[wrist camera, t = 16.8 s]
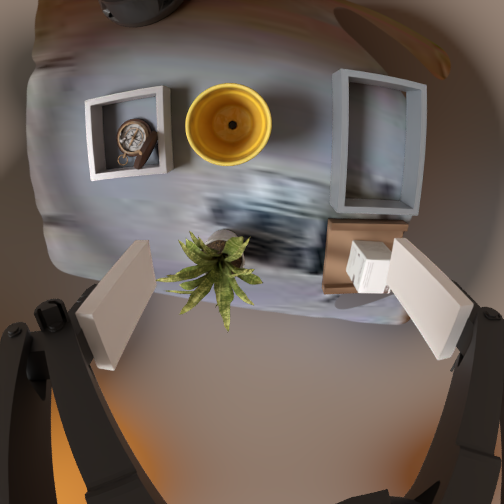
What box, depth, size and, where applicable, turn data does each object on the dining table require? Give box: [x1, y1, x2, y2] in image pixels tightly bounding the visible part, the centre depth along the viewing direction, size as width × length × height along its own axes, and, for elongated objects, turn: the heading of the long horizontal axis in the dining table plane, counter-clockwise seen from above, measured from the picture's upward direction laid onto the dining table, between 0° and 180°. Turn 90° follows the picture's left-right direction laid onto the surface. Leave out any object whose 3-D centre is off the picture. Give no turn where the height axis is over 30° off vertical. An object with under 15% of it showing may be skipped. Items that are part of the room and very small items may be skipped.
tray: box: [322, 218, 408, 294], centre depth 49 cm, size 13×14×2 cm
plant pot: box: [185, 83, 272, 166], centre depth 37 cm, size 10×10×10 cm
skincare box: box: [346, 240, 392, 293], centre depth 46 cm, size 6×6×7 cm
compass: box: [116, 119, 158, 170], centre depth 39 cm, size 8×8×7 cm
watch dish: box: [85, 85, 174, 181], centre depth 39 cm, size 13×13×4 cm
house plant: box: [156, 230, 263, 331], centre depth 41 cm, size 14×14×16 cm
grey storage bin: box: [329, 69, 427, 215], centre depth 39 cm, size 21×14×5 cm, turn 1°
